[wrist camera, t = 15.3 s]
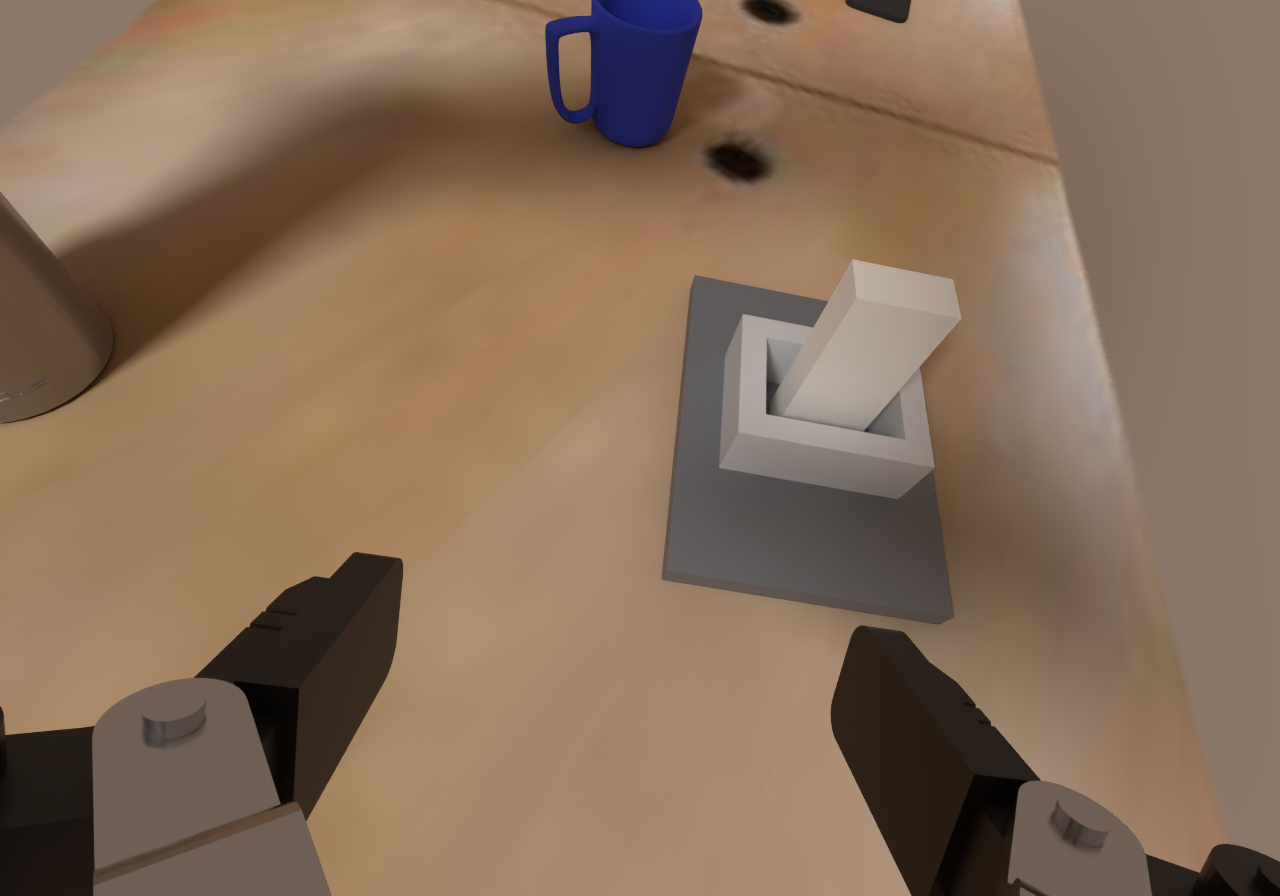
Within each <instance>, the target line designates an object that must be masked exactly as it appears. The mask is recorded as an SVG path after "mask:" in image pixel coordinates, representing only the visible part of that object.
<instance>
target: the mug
mask: <svg viewBox="0 0 1280 896" xmlns="http://www.w3.org/2000/svg"><path fill="white" fill-rule="evenodd" d="M701 20H702V8H701V5H700V3H699V2H698V0H592V12H591V16H575V17H567V18H562V19H557V20H554V21H551V22H549V23H547V25H546V30H545V37H546V57H547V70H548V79H549V86H550V92H551V97H552V100H553V104H554V106H555V108H556V110H557V112H558V113H559V115H560V116H561V117H562V118H563V119H564V120H565V121H567V122H569V123H573V124H577V123H582V122H584V121H587V120H588V119H590V118H591V117H593V120H594V123H595V125H596V127H597V129H598V130H599V131H600V132H601V133H602V134H603V135H604V136H605V137H607V138H608V139H610V140H611V141H613V142H616V143H618V144H621V145H625V146H631V147H643V146H648V145H652V144H654V143H656V142H658V141H659V140H661V139H662V138H663V137H664V136H665V135H666V133H667V132H668V130H669V128H670V126H671V123H672V120H673V117H674V113H675V110H676V106H677V103H678V99H679V96H680V92H681V89H682V86H683V82H684V79H685V75H686V72H687V68H688V65H689V61H690V58H691V54H692V51H693V48H694V44H695V41H696V37H697V34H698V30H699V27H700V23H701ZM579 32H589V33H590V39H591V94H590V101H589V104H588V105H587V106H586V107H585V108H583V109H581V110H577V111H571V110H568V109H567V108H566V107H565V106H564V103H563V100H562V95H561V89H560V78H559V52H558V44H559V39H560V37H562V36H565V35H569V34H573V33H579Z"/></svg>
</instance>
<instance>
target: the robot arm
mask: <svg viewBox="0 0 1280 896" xmlns="http://www.w3.org/2000/svg"><path fill="white" fill-rule="evenodd" d="M113 339H114V337H113V332H112V327H111V325H110V323H109V322H108V320H107V318H106V316H105V315H104V314H103V313H102V311H101V310H100V309H99V308H98V307H97V306H96V304H95V303H94V302H93V301H92V300H91V298H90V297H89V296H88V295H87V294H86V292H85V291H84V290H83V289H82V288H81V287H80V285H79V284H78V283H77V282H76V281H75V279H74V278H73V277H72V276H71V275H70V274H69V272H68V271H67V270H66V269H65V267H64V266H63V265H62V264H61V263H60V261H59V260H58V259H57V258H56V257H55V255H54V254H53V253H52V252H51V251H50V250H49V248H48V247H47V246H46V245H45V244H44V242H43V241H42V240H41V239H40V238H39V237H38V235H37V234H36V233H35V232H34V231H33V229H32V228H31V227H30V226H29V225H28V224H27V222H26V221H25V220H24V219H23V218H22V216H21V215H20V214H19V213H18V212H17V211H16V209H15V208H14V207H13V206H12V205H11V203H10V202H9V201H8V200H7V199H6V198H5V196H4V195H3V194H2V193H1V192H0V423H6V422H11V421H16V420H22V419H25V418H28V417H31V416H34V415H37V414H41V413H44V412H46V411H48V410H50V409H52V408H54V407H56V406H59V405H61V404H63V403H65V402H66V401H68V400H69V399H71V398H72V397H74V396H75V395H77V394H78V393H80V392H81V391H83V390H84V389H85V388H86V387H87V386H88V385H89V384H90V383H91V382H92V381H94V380H95V379H96V378H97V376H98V375H99V374H100V372H101V371H102V369H103V368H104V367H105V365H106V364H107V361H108V359H109V357H110V355H111V352H112V347H113ZM402 579H403V562H402V560H401V559H400V558H394V557H387V556H380V555H373V554H366V553H359V552H355V553H353V554H352V555H351V556H350V557H349V558H348V559H347V560H346V561H345V562H344V563H343V565H342V566H341V567H340V568H339V569H338V570H337V571H336V572H335V573H334V574H333V575H332V576H331V577H330V578H323V577H316V576H314V577H312V578H310V579H308V580H305V581H303V582H301V583H299V584H297V585H295V586H292V587H290V588H288V589H286V590H285V591H284V592H283V593H281V594H280V595H279V596H278V597H277V598H276V599H275V600H274V601H273V602H272V603H271V604H270V605H269V606H268V607H267V608H266V611H265V612H262V613H261V614H260V615H259V616H258V617H257V618H256V619H254V620H253V621H252V622H251V624H250V627H249V628H248V627H246V628H245V629H244V630H243V631H242V632H241V633H240V634H239V635H238V636H237V637H236V638H235V639H234V640H233V641H232V642H231V643H230V644H228V645H227V646H226V647H225V648H224V649H223V650H222V651H221V652H220V653H219V654H218V655H217V656H216V657H215V658H214V659H213V660H212V661H211V662H210V663H209V664H208V665H207V666H206V667H205V668H204V669H203V670H201V671H200V672H199V673H198V674H197V675H196V676H195V677H194V678H189V679H179V680H174V681H168V682H164V683H160V684H157V685H154V686H151V687H148V688H145V689H142V690H140V691H138V692H136V693H133V694H131V695H129V696H128V697H126V698H124V699H122V700H120V701H119V702H118V703H116V704H115V705H113V706H112V707H111V708H110V709H108V710H107V711H106V712H105V713H104V714H103V715H102V716H101V718H100V719H99V720H98V722H97V723H96V725H95V726H92V727H84V728H75V729H65V730H54V731H44V732H33V733H23V734H12V735H5V725H4V713H3V711H2V708H1V707H0V896H332V895H331V892H330V889H329V886H328V884H327V881H326V878H325V875H324V872H323V869H322V866H321V864H320V861H319V858H318V855H317V852H316V849H315V846H314V843H313V841H312V838H311V835H310V832H309V829H308V826H307V823H306V821H307V819H308V817H309V816H310V814H311V812H312V810H313V808H314V807H315V805H316V803H317V801H318V799H319V798H320V796H321V794H322V792H323V790H324V789H325V787H326V785H327V783H328V782H329V780H330V778H331V776H332V774H333V773H334V771H335V769H336V767H337V765H338V764H339V762H340V760H341V758H342V756H343V755H344V753H345V751H346V749H347V748H348V746H349V744H350V742H351V740H352V739H353V737H354V735H355V733H356V731H357V730H358V728H359V726H360V724H361V722H362V721H363V719H364V717H365V715H366V714H367V712H368V710H369V708H370V706H371V705H372V703H373V701H374V699H375V697H376V696H377V694H378V692H379V690H380V688H381V687H382V685H383V683H384V681H385V679H386V677H387V675H388V673H389V670H390V667H391V664H392V661H393V657H394V653H395V648H396V641H397V632H398V621H399V610H400V600H401V589H402ZM975 705H976V704H975V703H974V702H973V701H972V699H971V698H970V697H969V696H968V695H967V694H966V692H965V691H964V690H963V689H962V688H961V686H960V685H959V684H958V683H957V682H956V681H954V680H953V679H951V678H950V677H949V676H947V675H946V674H945V673H943V672H942V671H941V670H939V669H938V668H937V667H935V666H934V665H933V664H931V663H930V662H929V661H928V660H927V659H926V658H925V656H924V655H923V654H922V653H921V652H920V650H919V649H918V648H917V647H916V646H915V644H914V643H913V642H912V641H911V639H910V638H909V637H908V636H907V635H906V634H905V633H904V632H902V631H897V630H890V629H883V628H876V627H869V626H859V627H857V628H856V629H855V631H854V632H853V634H852V636H851V639H850V642H849V646H848V649H847V652H846V656H845V659H844V662H843V666H842V669H841V672H840V676H839V679H838V682H837V686H836V689H835V692H834V696H833V700H832V705H831V725H832V730H833V734H834V737H835V739H836V741H837V743H838V745H839V747H840V750H841V752H842V754H843V756H844V758H845V760H846V762H847V764H848V766H849V768H850V770H851V772H852V774H853V776H854V778H855V780H856V782H857V784H858V786H859V789H860V791H861V793H862V795H863V797H864V799H865V801H866V803H867V805H868V807H869V809H870V811H871V813H872V815H873V817H874V819H875V821H876V823H877V826H878V828H879V830H880V832H881V834H882V836H883V838H884V840H885V842H886V844H887V846H888V848H889V850H890V852H891V854H892V856H893V858H894V860H895V863H896V865H897V867H898V869H899V871H900V873H901V875H902V877H903V879H904V881H905V883H906V885H907V887H908V889H909V891H910V893H911V895H912V896H1280V862H1279V861H1277V860H1275V859H1273V858H1271V857H1268V856H1266V855H1264V854H1261V853H1259V852H1257V851H1254V850H1251V849H1248V848H1245V847H1241V846H1236V845H1230V844H1221V845H1217V846H1215V847H1214V848H1213V849H1212V850H1211V852H1210V854H1209V856H1208V858H1207V860H1206V862H1205V864H1204V866H1203V868H1202V870H1201V872H1200V873H1198V872H1195V871H1193V870H1190V869H1187V868H1184V867H1181V866H1178V865H1175V864H1173V863H1170V862H1167V861H1164V860H1161V859H1158V858H1156V857H1153V856H1150V855H1147V854H1145V852H1144V849H1143V847H1142V845H1141V843H1140V842H1139V840H1138V839H1137V838H1136V836H1135V835H1134V834H1133V833H1132V832H1131V830H1130V829H1129V828H1128V827H1127V826H1126V825H1125V824H1124V823H1123V822H1121V821H1120V820H1119V819H1118V818H1117V817H1116V816H1114V815H1113V814H1112V813H1111V812H1110V811H1108V810H1107V809H1105V808H1104V807H1102V806H1101V805H1100V804H1098V803H1096V802H1095V801H1093V800H1091V799H1090V798H1088V797H1086V796H1084V795H1082V794H1080V793H1078V792H1076V791H1074V790H1072V789H1069V788H1067V787H1064V786H1061V785H1058V784H1055V783H1051V782H1045V781H1041V780H1040V779H1039V778H1038V777H1037V775H1036V774H1035V773H1034V772H1033V771H1032V770H1031V768H1030V767H1029V766H1028V765H1027V764H1026V763H1025V761H1024V760H1023V759H1022V758H1021V757H1020V756H1019V754H1018V753H1017V752H1016V751H1015V750H1014V749H1013V747H1012V746H1011V745H1010V744H1009V743H1008V741H1007V740H1006V739H1005V738H1004V737H1003V736H1002V734H1001V733H1000V732H999V731H998V730H997V729H996V727H993V726H991V722H990V720H989V719H988V718H987V717H986V716H985V715H984V713H983V712H982V711H981V710H980V709H979V708H976V707H975Z"/></svg>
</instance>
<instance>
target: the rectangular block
mask: <svg viewBox="0 0 1280 896" xmlns="http://www.w3.org/2000/svg"><path fill="white" fill-rule="evenodd" d="M961 319H962V318H961V314H960V309H959V304H958V299H957V295H956V290H955V285H954V280H953V279H949V278H944V277H939V276H933V275H928V274H923V273H918V272H913V271H908V270H903V269H898V268H893V267H888V266H883V265H878V264H873V263H868V262H863V261H858V260H852V262H851V263H850V265H849V267H848V269H847V270H846V272H845V274H844V276H843V277H842V279H841V281H840V282H839V284H838V286H837V288H836V289H835V291H834V293H833V295H832V296H831V298H830V300H829V301H828V303H827V305H826V307H825V308H824V310H823V312H822V313H821V315H820V317H819V319H818V320H817V322H816V324H815V326H814V327H813V329H812V331H811V332H810V334H809V336H808V338H807V339H806V341H805V343H804V345H803V346H802V348H801V350H800V351H799V353H798V355H797V357H796V358H795V360H794V362H793V363H792V365H791V367H790V369H789V370H788V372H787V374H786V376H785V377H784V379H783V381H782V382H781V384H780V386H779V388H778V389H777V391H776V393H775V395H774V396H773V398H772V400H771V401H770V415H773V416H779V417H784V418H790V419H795V420H801V421H806V422H812V423H817V424H823V425H828V426H834V427H839V428H845V429H850V430H856V431H861V432H864V430H865V429H866V428H867V427H868V426H869V425H870V424H871V422H872V421H873V420H874V419H875V418H876V417H877V415H878V414H879V413H880V412H881V411H882V410H883V409H884V407H885V406H886V405H887V404H888V403H889V402H890V400H891V399H892V398H893V397H894V396H895V395H896V394H897V392H898V391H899V390H900V389H901V388H902V387H903V385H904V384H905V383H906V382H907V381H908V380H909V379H910V377H911V376H912V375H913V374H914V373H915V372H916V370H917V369H918V368H919V367H920V366H921V365H922V364H923V362H924V361H925V360H926V359H927V358H928V357H929V355H930V354H931V353H932V352H933V351H934V350H935V349H936V347H937V346H938V345H939V344H940V343H941V342H942V340H943V339H944V338H945V337H946V336H947V335H948V334H949V332H950V331H951V330H952V329H953V328H954V327H955V325H956V324H957V323H958V322H959V321H960V320H961Z"/></svg>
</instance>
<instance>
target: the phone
mask: <svg viewBox="0 0 1280 896" xmlns="http://www.w3.org/2000/svg"><path fill="white" fill-rule="evenodd" d="M910 2H911V0H846V4H847V5H848V6H850V7H851V8H854V9H857V10H860V11H863V12H866V13H869V14H872V15H875V16H878V17H881V18H884V19H887V20H890V21H893V22H896V23H904V22H905V21H906V19H907V17H908V13H909V8H910Z"/></svg>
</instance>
